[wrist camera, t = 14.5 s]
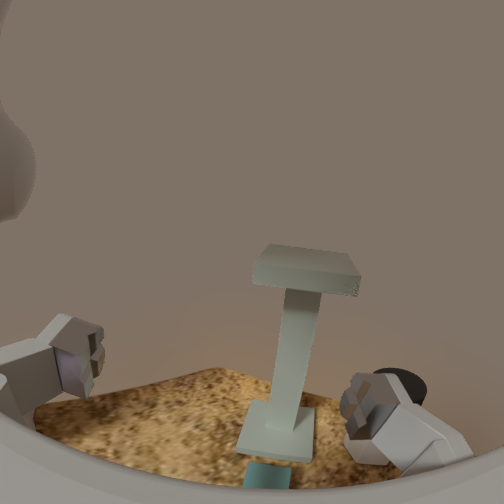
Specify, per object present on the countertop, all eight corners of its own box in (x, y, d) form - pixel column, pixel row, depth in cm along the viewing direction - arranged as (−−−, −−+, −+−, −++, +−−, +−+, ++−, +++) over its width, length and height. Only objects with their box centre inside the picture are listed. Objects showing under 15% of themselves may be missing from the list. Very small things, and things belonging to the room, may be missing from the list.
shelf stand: (235, 451, 33) (253, 262, 28) (251, 404, 44) (269, 243, 39) (310, 463, 32) (361, 276, 26) (312, 413, 42) (347, 253, 37)
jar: (363, 421, 40) (385, 359, 37) (405, 440, 34) (435, 379, 32) (332, 450, 34) (355, 386, 31) (379, 476, 28) (414, 412, 26)
